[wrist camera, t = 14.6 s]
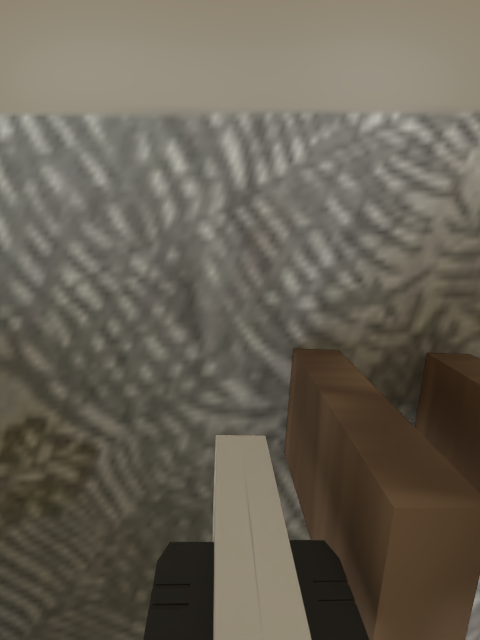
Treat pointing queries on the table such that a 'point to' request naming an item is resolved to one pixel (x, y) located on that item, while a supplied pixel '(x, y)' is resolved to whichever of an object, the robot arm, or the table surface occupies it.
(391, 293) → the table surface
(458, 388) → the domino
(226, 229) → the table surface
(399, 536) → the domino
